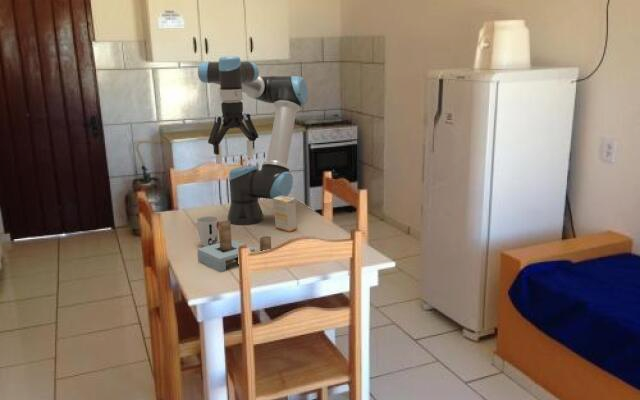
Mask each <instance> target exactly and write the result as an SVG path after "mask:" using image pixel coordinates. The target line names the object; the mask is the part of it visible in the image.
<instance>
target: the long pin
mask: <svg viewBox="0 0 640 400" xmlns="http://www.w3.org/2000/svg"><path fill="white" fill-rule="evenodd" d="M218 224H219V230H218V239H219V243H220V251H221V252H223V253H224V252H228V251H231V250H232V241H231V240H232V228H231V223H230V221H228V220H221V221H219V222H218ZM233 259H234V258H233ZM233 259H230V260H227V261H225V262H226V264H230V263H232V262H233Z"/></svg>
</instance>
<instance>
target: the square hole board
mask: <svg viewBox="0 0 640 400" xmlns="http://www.w3.org/2000/svg"><path fill="white" fill-rule="evenodd" d="M231 241H232V250H231V251H228V252H224V253H223V252H221V251H220V242H217V243H216V244H213V245H210V246H206V247H203V246H202V247H199V248H197V250H196V251H197V260H198V262H199V263H202V264H203V265H206V266H208V267H210V268H212V269H214V270H216V271H218V272H220V273H222V272H224V271H227V263H226V262H225V261H227V260H230V259H236V258H239V257H238V247H239V246H240V245H245V244H244V243H241V242H239V241H237V240H234V239H231ZM247 246H248V247H249V249H250V251H251V252H255V251H256V249H255V248H254V247H252V246H249V245H247ZM255 253H256V252H255Z"/></svg>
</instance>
